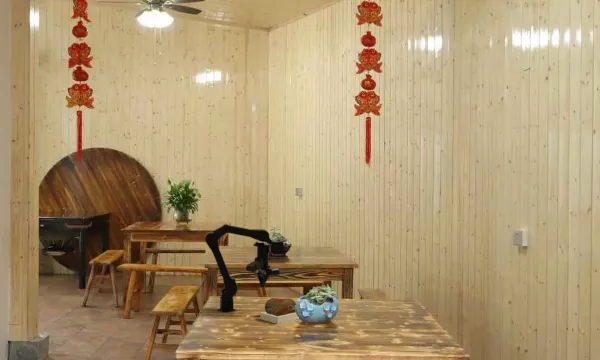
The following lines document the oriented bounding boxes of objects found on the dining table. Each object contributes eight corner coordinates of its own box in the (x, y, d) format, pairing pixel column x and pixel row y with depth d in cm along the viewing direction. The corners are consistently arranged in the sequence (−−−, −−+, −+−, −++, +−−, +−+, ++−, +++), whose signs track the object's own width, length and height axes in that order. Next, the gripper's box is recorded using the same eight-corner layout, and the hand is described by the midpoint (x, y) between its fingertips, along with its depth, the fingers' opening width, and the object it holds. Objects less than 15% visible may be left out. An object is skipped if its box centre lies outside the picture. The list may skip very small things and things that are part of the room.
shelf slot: (260, 319, 266) (260, 312, 266) (291, 312, 280) (291, 306, 280) (277, 324, 258) (277, 317, 258) (308, 316, 272) (308, 310, 272)
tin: (264, 316, 272) (264, 298, 272) (265, 314, 275) (265, 296, 275) (296, 317, 270) (296, 299, 270) (297, 315, 274) (297, 298, 273)
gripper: (237, 254, 285) (237, 286, 285) (263, 259, 272) (262, 292, 272) (254, 252, 293) (254, 283, 293) (280, 256, 280) (279, 289, 280)
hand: (262, 287), depth 284 cm, fingers closed
